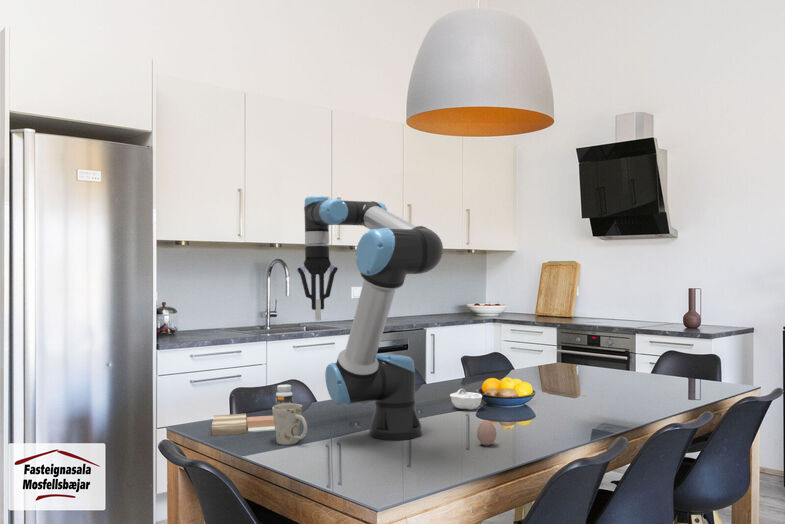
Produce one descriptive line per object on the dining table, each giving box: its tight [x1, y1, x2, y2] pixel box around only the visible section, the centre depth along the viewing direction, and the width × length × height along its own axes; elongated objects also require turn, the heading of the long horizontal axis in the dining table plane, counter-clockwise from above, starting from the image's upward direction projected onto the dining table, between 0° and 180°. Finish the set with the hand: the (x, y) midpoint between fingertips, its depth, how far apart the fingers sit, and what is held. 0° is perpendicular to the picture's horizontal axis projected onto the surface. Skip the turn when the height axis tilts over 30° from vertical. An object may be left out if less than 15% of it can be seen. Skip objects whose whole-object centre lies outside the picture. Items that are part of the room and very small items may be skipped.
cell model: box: [449, 388, 483, 411], centre depth 226 cm, size 10×12×7 cm
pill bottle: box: [275, 384, 294, 405], centre depth 221 cm, size 6×6×10 cm
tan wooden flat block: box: [211, 413, 248, 437], centre depth 204 cm, size 16×10×2 cm, turn 13°
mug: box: [272, 402, 308, 446], centre depth 186 cm, size 8×13×10 cm, turn 51°
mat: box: [247, 426, 275, 433], centre depth 208 cm, size 16×12×1 cm
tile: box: [246, 415, 275, 429], centre depth 206 cm, size 9×6×2 cm, turn 103°
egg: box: [476, 419, 497, 447], centre depth 180 cm, size 5×5×7 cm
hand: (318, 320), depth 209 cm, fingers closed
